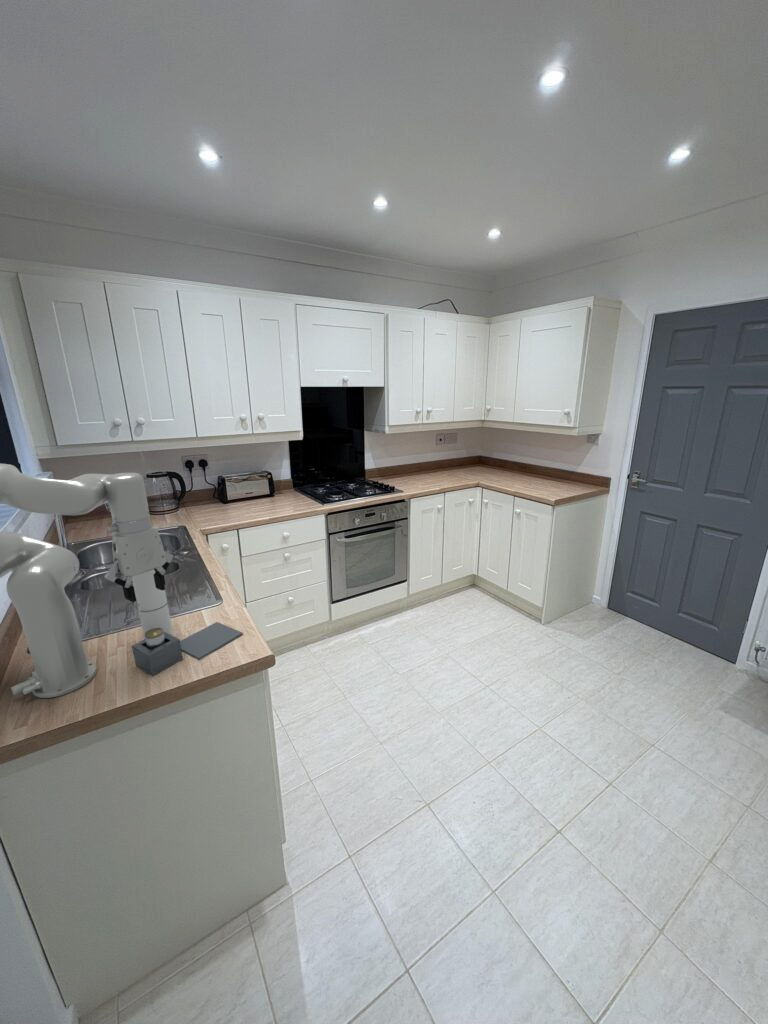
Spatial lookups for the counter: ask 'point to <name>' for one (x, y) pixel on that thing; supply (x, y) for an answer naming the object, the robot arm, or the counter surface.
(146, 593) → the cylindrical container
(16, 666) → the counter surface
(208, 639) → the rubber mat
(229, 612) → the counter surface
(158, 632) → the plunger
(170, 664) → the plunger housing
